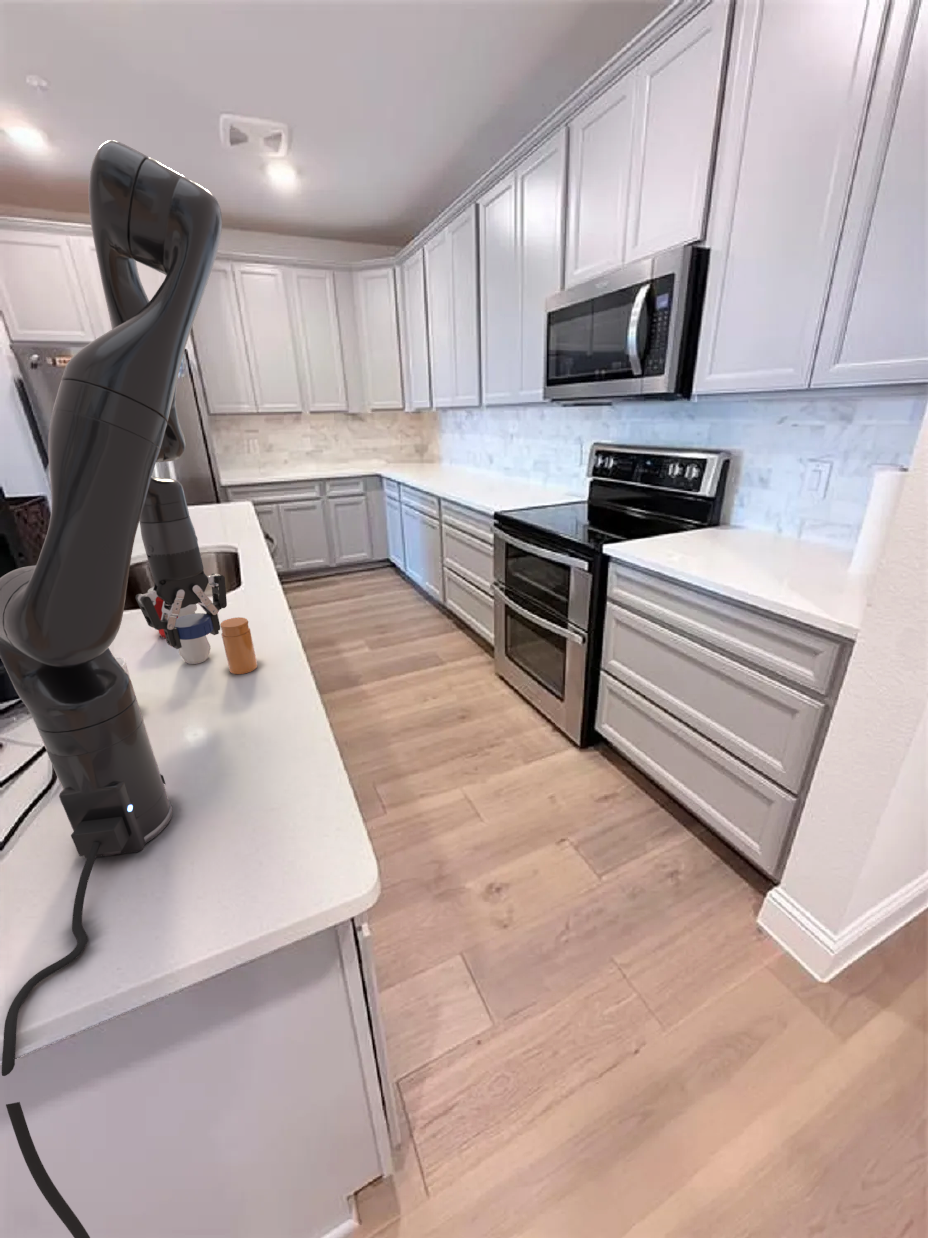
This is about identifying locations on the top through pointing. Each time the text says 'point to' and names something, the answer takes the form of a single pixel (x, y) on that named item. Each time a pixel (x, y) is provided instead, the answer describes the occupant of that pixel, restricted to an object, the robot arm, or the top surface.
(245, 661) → the jar
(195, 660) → the salt shaker
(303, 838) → the top surface
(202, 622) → the lid
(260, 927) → the top surface
